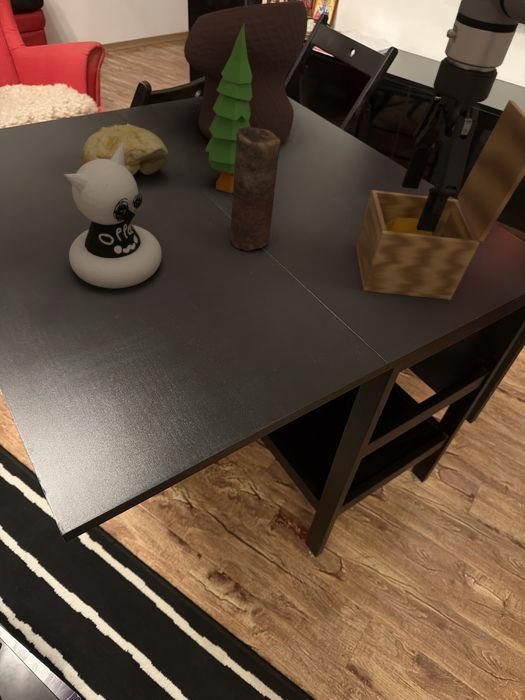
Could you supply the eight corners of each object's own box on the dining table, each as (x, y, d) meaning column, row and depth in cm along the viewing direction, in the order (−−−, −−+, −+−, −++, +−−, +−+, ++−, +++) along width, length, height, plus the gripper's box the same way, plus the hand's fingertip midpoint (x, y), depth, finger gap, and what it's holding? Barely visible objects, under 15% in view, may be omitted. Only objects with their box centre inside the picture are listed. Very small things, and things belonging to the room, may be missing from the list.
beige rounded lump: (107, 166, 109) (69, 181, 97) (106, 114, 103) (65, 123, 91) (176, 182, 107) (147, 199, 95) (179, 130, 101) (148, 142, 89)
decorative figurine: (108, 307, 74) (87, 187, 59) (53, 264, 80) (22, 145, 65) (180, 268, 82) (177, 154, 68) (125, 231, 88) (112, 119, 74)
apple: (412, 197, 82) (448, 227, 84) (381, 217, 90) (416, 244, 92) (395, 236, 79) (433, 266, 81) (365, 253, 87) (401, 280, 89)
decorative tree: (257, 189, 104) (274, 27, 82) (225, 202, 99) (233, 33, 77) (227, 171, 108) (236, 13, 86) (195, 182, 103) (195, 17, 81)
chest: (363, 291, 83) (382, 233, 75) (355, 246, 93) (371, 189, 84) (450, 299, 84) (479, 243, 75) (434, 254, 93) (458, 199, 85)
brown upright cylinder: (231, 227, 93) (238, 121, 78) (269, 231, 93) (282, 126, 78) (228, 250, 87) (234, 141, 73) (268, 254, 88) (282, 146, 73)
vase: (299, 121, 132) (319, -13, 110) (279, 163, 113) (299, 11, 92) (205, 102, 134) (207, -32, 112) (171, 140, 116) (165, -12, 94)
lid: (541, 137, 63) (547, 138, 63) (508, 99, 73) (513, 100, 73) (478, 240, 75) (483, 241, 75) (457, 196, 84) (461, 197, 85)
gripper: (424, 33, 72) (383, 169, 87) (467, 92, 55) (407, 248, 70) (473, 39, 72) (424, 174, 87) (531, 99, 55) (457, 253, 70)
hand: (416, 207), depth 79 cm, fingers open, 13 cm apart
